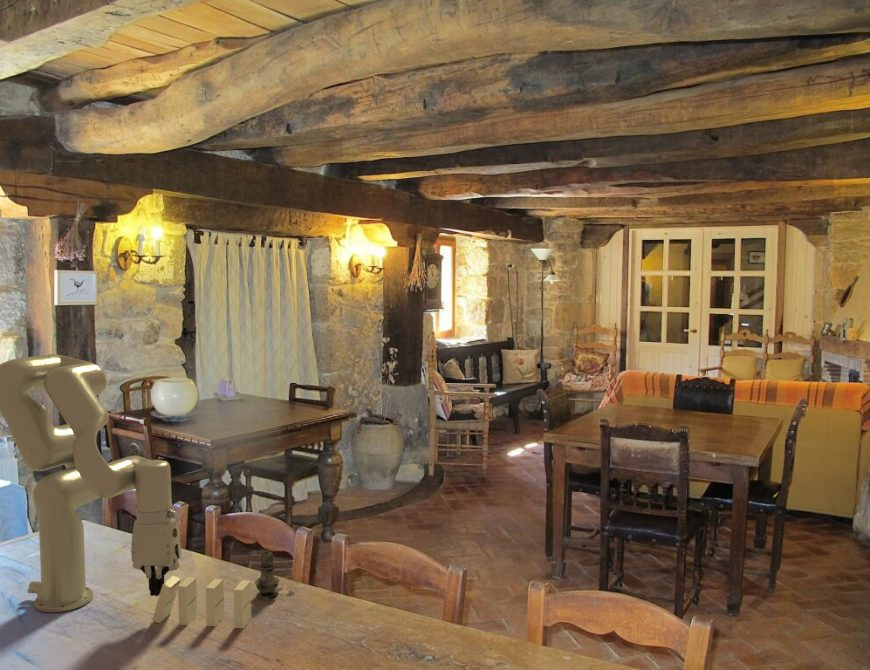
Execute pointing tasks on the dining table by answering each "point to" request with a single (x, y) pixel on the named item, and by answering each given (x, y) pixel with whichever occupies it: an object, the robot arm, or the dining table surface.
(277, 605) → the dining table surface
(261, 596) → the dark chess piece
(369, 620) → the dining table surface
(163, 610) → the domino
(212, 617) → the domino
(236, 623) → the domino
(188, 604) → the domino
